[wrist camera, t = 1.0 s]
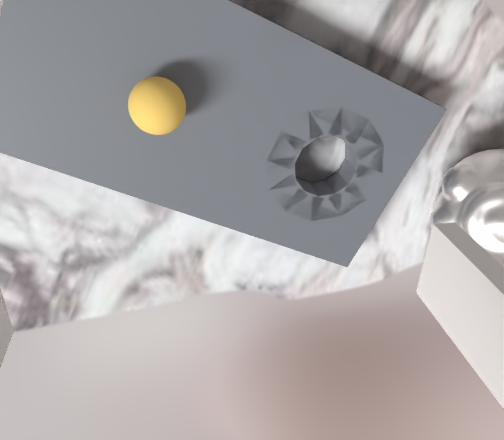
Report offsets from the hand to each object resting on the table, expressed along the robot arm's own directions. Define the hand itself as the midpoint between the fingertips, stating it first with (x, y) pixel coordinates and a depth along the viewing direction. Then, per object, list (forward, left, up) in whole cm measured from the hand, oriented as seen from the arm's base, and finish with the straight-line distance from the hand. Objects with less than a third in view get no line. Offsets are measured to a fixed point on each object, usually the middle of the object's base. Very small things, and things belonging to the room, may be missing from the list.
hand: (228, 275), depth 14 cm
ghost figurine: (+22, +6, -21) cm, 31 cm away
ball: (-2, -1, -17) cm, 17 cm away
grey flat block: (+2, 0, -21) cm, 21 cm away
